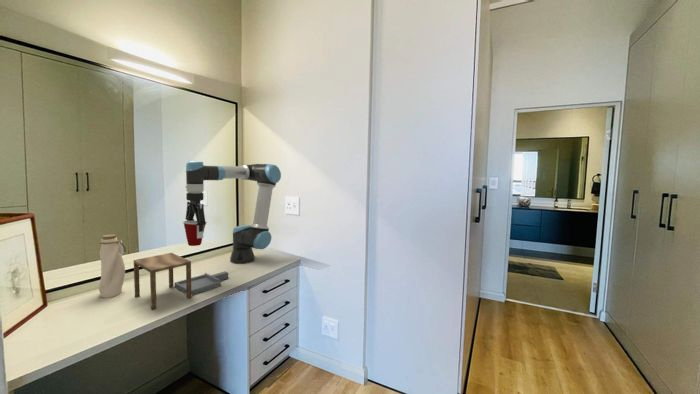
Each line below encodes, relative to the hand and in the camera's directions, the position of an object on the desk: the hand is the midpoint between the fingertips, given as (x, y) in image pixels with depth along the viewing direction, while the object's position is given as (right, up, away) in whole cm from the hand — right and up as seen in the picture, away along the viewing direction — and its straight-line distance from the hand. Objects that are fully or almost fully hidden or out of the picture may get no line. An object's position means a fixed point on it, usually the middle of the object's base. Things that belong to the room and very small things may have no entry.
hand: (195, 235), depth 145 cm
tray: (+3, -26, +5) cm, 26 cm away
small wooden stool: (-9, -27, -11) cm, 31 cm away
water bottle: (-34, -26, -10) cm, 44 cm away
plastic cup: (0, -5, 0) cm, 5 cm away
